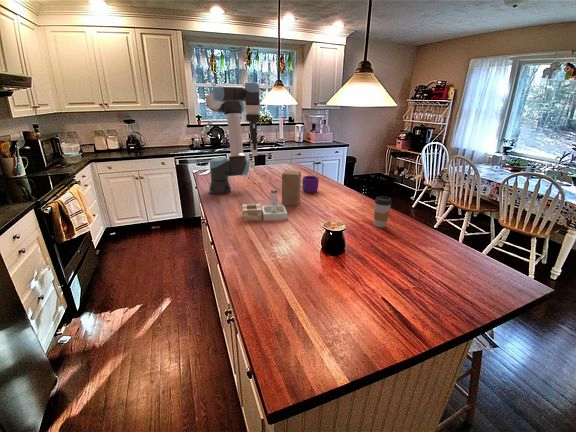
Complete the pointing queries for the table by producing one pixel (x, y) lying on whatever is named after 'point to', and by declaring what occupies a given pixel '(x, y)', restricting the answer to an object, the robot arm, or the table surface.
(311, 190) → the mug
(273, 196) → the glass vial with cap
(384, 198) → the coffee cup
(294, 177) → the wooden block
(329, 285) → the table surface
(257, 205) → the hollow square frame
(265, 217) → the tray
